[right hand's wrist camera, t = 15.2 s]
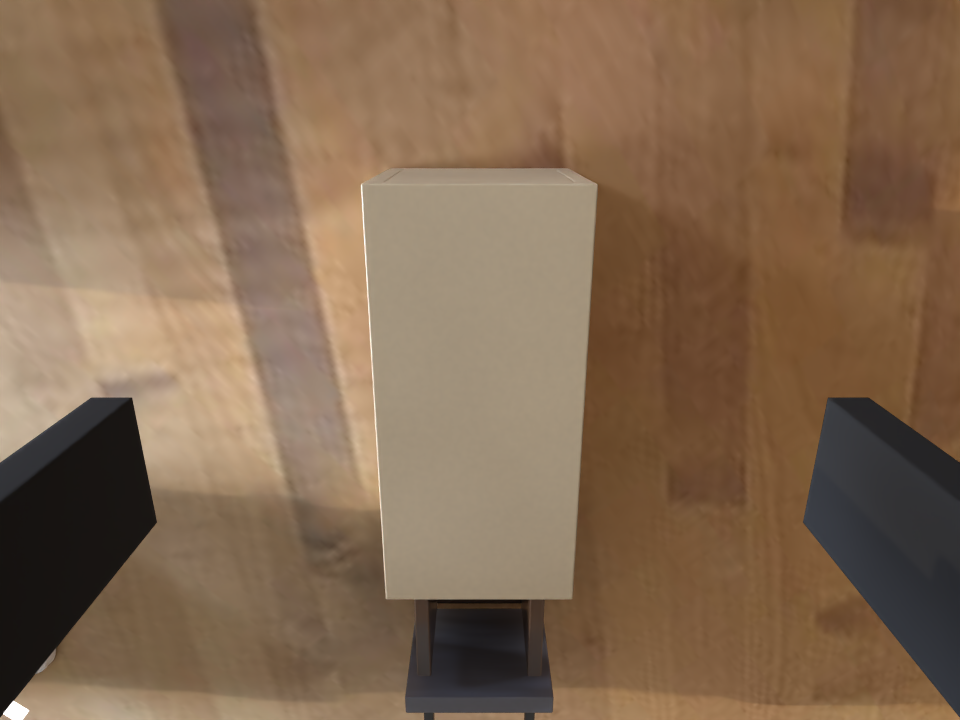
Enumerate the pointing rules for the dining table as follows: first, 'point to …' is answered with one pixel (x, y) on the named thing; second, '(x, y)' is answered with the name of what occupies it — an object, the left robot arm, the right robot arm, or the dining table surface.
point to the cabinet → (479, 375)
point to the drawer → (479, 659)
